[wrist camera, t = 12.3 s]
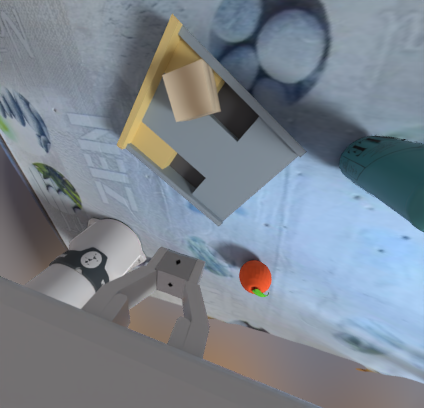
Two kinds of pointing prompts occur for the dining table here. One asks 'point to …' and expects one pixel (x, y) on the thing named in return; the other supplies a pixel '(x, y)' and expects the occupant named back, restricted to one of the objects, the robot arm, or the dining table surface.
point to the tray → (205, 134)
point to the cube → (192, 91)
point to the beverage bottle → (389, 173)
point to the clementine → (255, 277)
